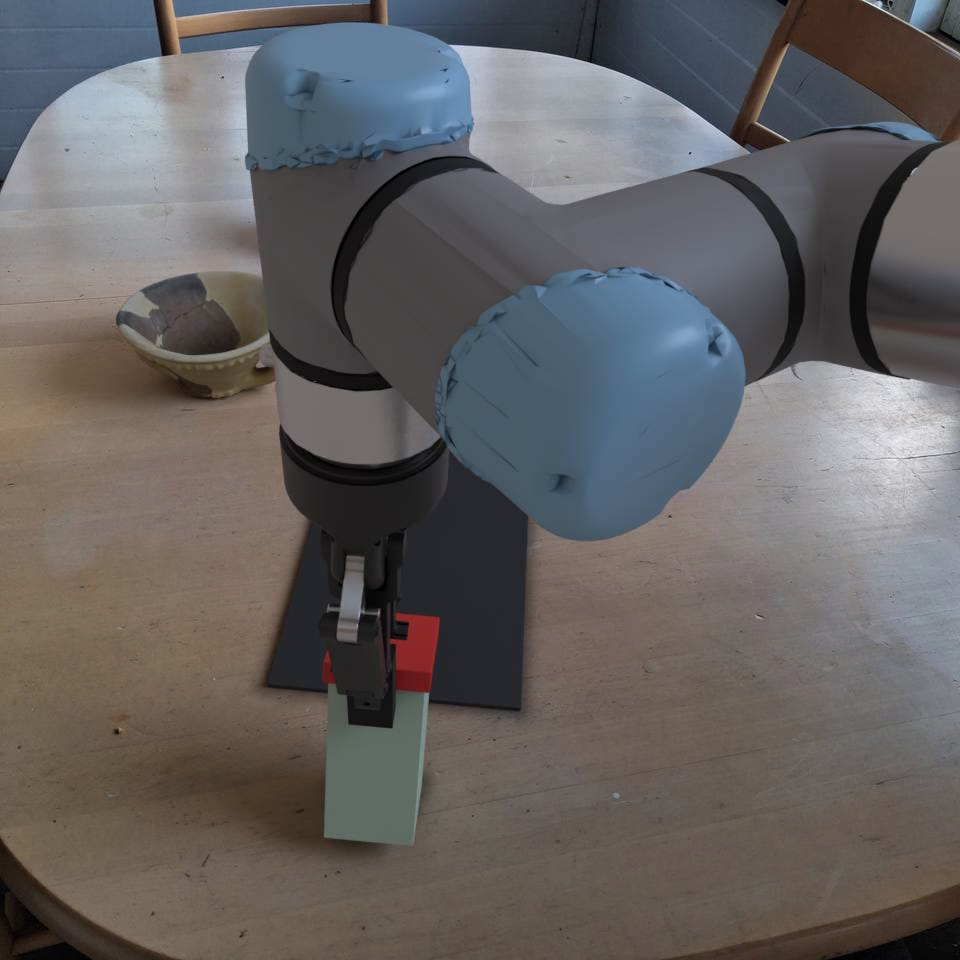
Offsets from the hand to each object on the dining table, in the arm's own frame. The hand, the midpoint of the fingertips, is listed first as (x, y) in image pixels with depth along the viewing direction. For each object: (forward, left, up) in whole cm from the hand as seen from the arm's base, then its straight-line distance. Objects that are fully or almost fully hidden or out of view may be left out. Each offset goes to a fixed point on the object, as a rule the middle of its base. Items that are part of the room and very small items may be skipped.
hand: (372, 715), depth 55 cm
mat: (+23, -9, -13) cm, 28 cm away
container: (0, 0, -12) cm, 12 cm away
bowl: (+54, +5, -13) cm, 55 cm away
